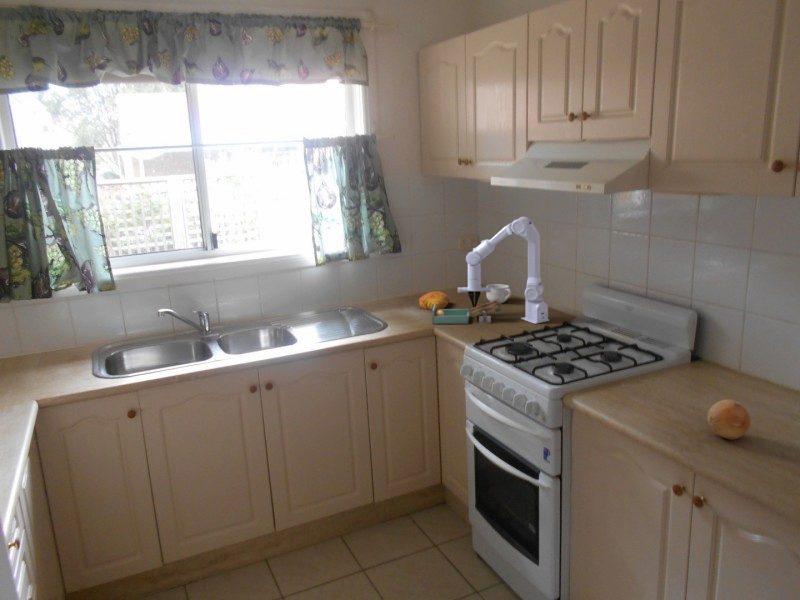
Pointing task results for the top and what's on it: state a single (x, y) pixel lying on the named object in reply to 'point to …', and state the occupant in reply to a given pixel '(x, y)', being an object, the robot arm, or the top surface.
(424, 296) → the croissant
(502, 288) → the teacup
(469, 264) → the robot arm
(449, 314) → the tray
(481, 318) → the launcher stand
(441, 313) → the ball
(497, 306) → the chute
